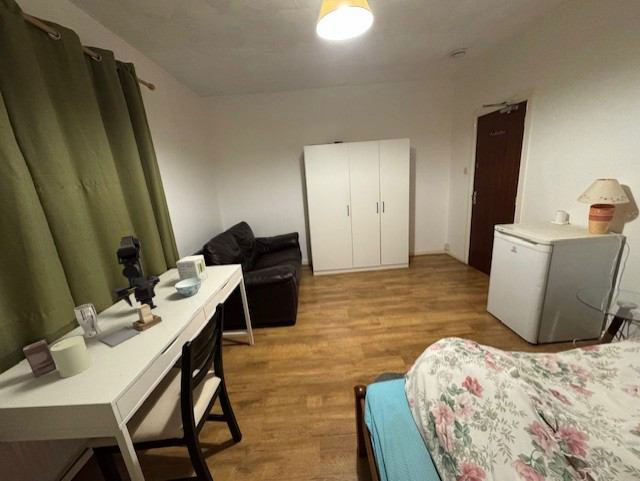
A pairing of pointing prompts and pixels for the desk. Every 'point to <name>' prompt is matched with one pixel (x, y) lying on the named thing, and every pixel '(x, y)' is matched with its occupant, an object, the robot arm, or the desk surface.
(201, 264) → the supplement box
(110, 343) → the rubber mat
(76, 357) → the can
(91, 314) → the beer glass
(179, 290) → the chinaware
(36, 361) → the box
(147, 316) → the peg
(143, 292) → the robot arm
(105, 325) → the desk surface
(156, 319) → the collar
